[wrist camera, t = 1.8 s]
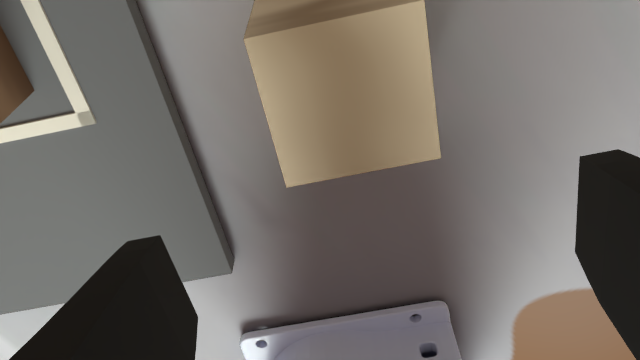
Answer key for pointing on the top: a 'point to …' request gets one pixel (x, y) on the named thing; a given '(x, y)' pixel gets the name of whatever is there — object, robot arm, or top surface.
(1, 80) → the walnut block
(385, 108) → the maple cube
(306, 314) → the top surface
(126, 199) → the gray mat
